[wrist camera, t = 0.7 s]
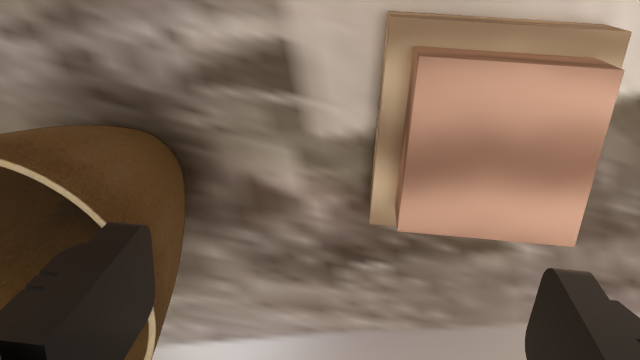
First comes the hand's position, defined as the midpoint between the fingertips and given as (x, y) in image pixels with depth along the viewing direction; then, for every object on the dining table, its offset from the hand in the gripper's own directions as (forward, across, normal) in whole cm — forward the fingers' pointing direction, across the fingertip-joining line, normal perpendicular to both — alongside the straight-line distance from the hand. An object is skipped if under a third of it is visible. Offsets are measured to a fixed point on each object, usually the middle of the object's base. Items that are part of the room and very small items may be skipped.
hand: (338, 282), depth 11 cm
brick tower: (+25, -8, +4) cm, 26 cm away
